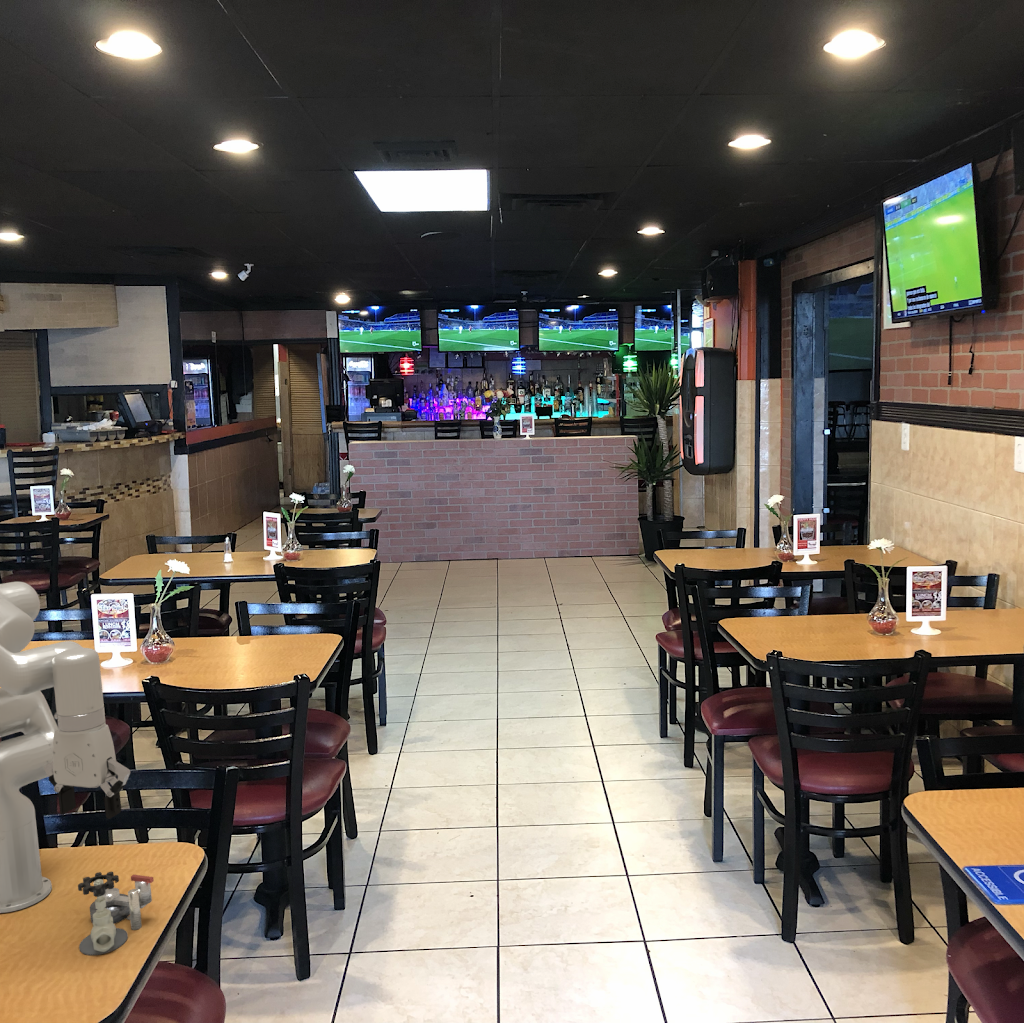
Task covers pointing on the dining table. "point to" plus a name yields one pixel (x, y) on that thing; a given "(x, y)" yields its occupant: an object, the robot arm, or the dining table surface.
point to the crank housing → (124, 910)
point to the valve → (101, 910)
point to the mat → (119, 940)
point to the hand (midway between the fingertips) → (90, 813)
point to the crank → (140, 883)
